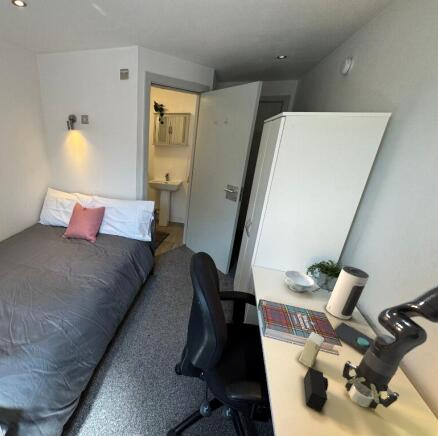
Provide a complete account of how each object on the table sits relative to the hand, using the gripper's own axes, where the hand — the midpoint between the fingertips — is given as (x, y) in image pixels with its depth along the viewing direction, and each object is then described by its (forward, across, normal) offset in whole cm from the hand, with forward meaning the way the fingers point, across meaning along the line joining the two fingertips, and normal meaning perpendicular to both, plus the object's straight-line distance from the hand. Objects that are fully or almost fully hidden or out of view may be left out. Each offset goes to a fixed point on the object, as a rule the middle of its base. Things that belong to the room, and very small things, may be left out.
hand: (359, 397), depth 81 cm
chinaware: (+1, +44, -46) cm, 64 cm away
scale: (+1, +11, -31) cm, 33 cm away
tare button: (-2, +7, -28) cm, 29 cm away
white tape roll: (+1, 0, 0) cm, 1 cm away
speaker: (+1, +22, -45) cm, 50 cm away
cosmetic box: (+1, +17, 0) cm, 17 cm away
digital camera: (+1, +9, +13) cm, 16 cm away
